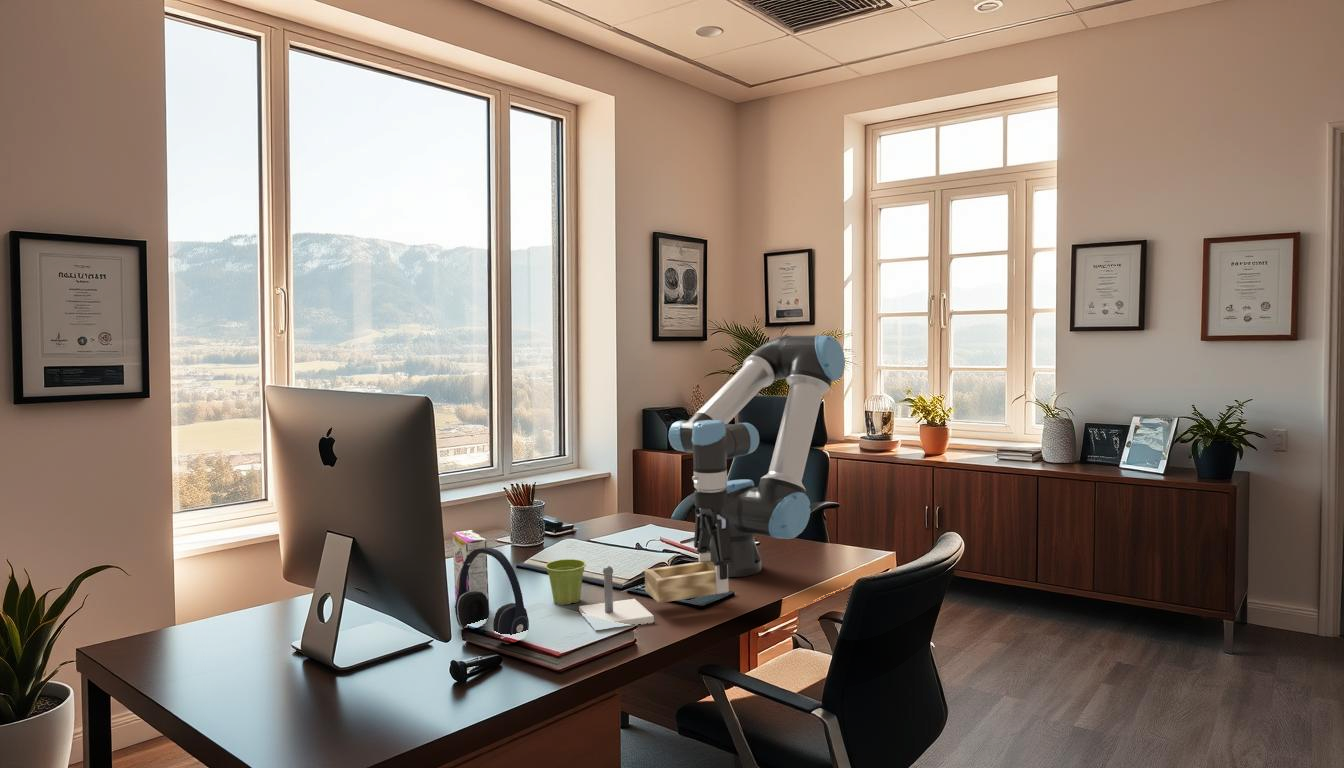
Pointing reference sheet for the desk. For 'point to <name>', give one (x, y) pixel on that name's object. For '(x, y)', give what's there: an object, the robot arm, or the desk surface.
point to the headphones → (476, 604)
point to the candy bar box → (478, 569)
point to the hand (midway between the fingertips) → (713, 586)
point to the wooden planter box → (681, 581)
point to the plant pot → (566, 580)
